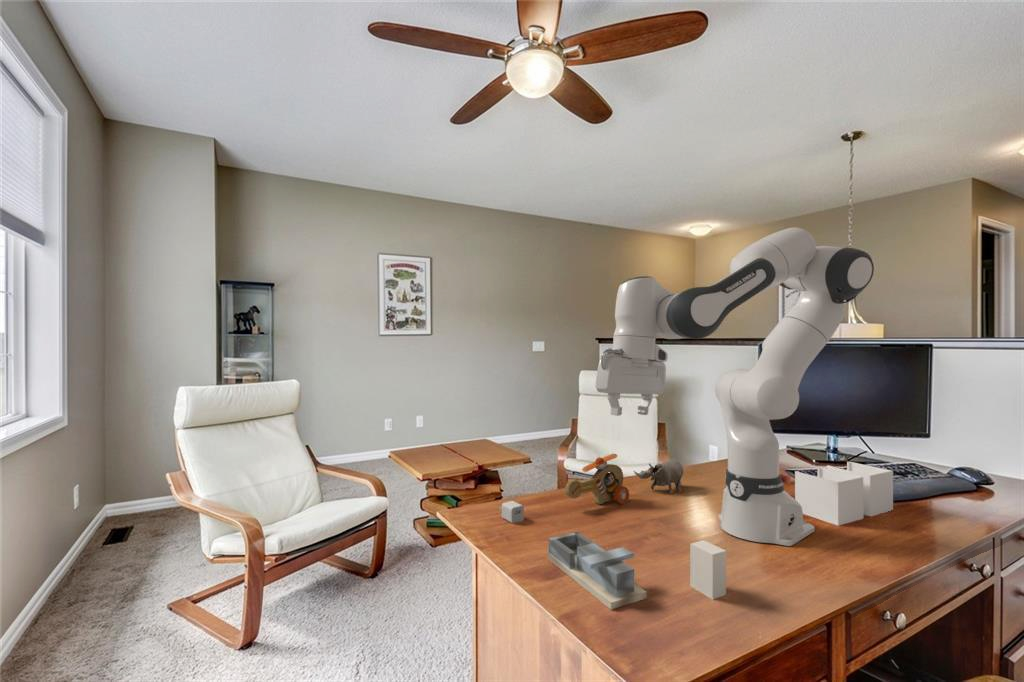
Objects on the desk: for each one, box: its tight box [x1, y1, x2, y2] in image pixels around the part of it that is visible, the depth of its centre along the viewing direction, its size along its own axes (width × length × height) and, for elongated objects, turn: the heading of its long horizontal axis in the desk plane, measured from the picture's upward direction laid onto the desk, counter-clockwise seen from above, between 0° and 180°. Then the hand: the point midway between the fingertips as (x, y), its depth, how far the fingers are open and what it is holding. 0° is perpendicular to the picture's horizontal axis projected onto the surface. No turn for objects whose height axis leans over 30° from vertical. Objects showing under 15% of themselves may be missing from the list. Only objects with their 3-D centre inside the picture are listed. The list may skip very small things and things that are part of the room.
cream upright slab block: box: [689, 539, 727, 601], centre depth 85 cm, size 4×5×8 cm
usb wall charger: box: [498, 500, 525, 524], centre depth 121 cm, size 4×7×4 cm, turn 36°
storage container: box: [794, 461, 894, 526], centre depth 126 cm, size 25×11×11 cm, turn 115°
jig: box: [546, 531, 648, 611], centre depth 90 cm, size 10×21×6 cm, turn 27°
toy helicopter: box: [564, 453, 630, 505], centre depth 130 cm, size 8×21×14 cm, turn 123°
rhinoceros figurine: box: [633, 458, 684, 495], centre depth 144 cm, size 8×14×15 cm
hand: (629, 414), depth 100 cm, fingers open, 8 cm apart
